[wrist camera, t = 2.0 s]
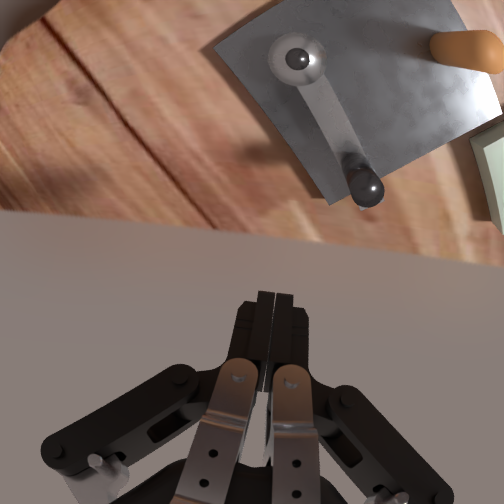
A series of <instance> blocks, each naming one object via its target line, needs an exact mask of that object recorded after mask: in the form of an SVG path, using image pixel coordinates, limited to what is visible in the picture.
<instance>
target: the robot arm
mask: <svg viewBox="0 0 504 504" xmlns="http://www.w3.org/2000/svg"><path fill="white" fill-rule="evenodd" d="M274 299H275V293H274V292H266V291H258V298H257V302H250V301H244V303H243V304H242V305H241V306H240V307H239V308H238V312H237V316H236V321H235V325H234V329H233V334H232V338H231V343H230V347H229V351H228V356H227V358H226V360H225V362H224V363H223V364H222V365H221V366H219V367H217V368H215V369H212V370H206V371H197V372H196V371H195V369H193V368H192V367H190V366H188V365H185V364H176V365H172V366H170V367H169V368H167V369H165V370H163V371H162V372H160V373H159V374H157V375H155V376H154V377H152V378H150V379H149V380H147V381H145V382H144V383H142V384H141V385H139V386H137V387H135V388H134V389H132V390H130V391H129V392H127V393H125V394H124V395H122V396H120V397H119V398H117V399H115V400H113V401H112V402H110V403H108V404H107V405H105V406H103V407H101V408H99V409H98V410H96V411H94V412H92V413H91V414H89V415H87V416H85V417H83V418H82V419H80V420H78V421H76V422H74V423H73V424H71V425H69V426H67V427H65V428H63V429H61V430H59V431H58V432H56V433H54V434H52V435H50V436H48V437H47V438H46V439H45V440H44V441H43V443H42V445H41V456H42V459H43V461H44V462H45V463H46V464H47V465H48V466H49V467H51V468H52V469H54V470H56V471H57V472H58V473H59V474H61V475H62V476H63V478H64V480H65V481H66V483H67V485H68V487H69V488H70V490H71V491H72V493H73V495H74V496H75V498H76V499H77V501H78V503H79V504H348V503H347V502H346V501H345V500H344V498H343V497H342V496H341V495H340V493H339V492H338V491H337V490H336V488H335V487H334V486H333V485H332V484H331V483H330V482H329V481H328V480H327V479H325V478H324V477H322V476H320V464H319V463H320V462H319V442H320V443H321V445H322V446H324V448H325V449H326V451H327V452H328V453H329V454H330V455H331V457H332V458H333V459H334V460H335V461H336V463H337V464H338V465H339V466H340V467H341V468H342V470H343V471H344V472H345V473H346V474H347V476H349V478H350V479H351V480H352V481H353V482H354V483H355V485H356V486H357V487H358V488H359V489H360V490H361V492H362V493H363V494H364V495H365V496H366V497H367V499H366V501H365V503H364V504H453V502H454V493H453V490H452V488H451V487H450V486H449V485H448V484H447V483H446V482H445V481H444V480H443V479H442V478H441V477H440V476H439V475H438V474H437V473H436V471H435V470H434V469H432V467H431V466H430V465H429V464H428V463H427V462H426V461H425V460H424V459H423V458H422V457H421V456H420V455H419V454H418V453H417V452H416V451H415V450H414V448H413V447H412V446H411V445H410V444H409V443H408V442H407V441H406V440H405V439H404V438H403V437H402V436H401V434H400V433H399V432H398V431H397V430H396V429H395V428H394V427H393V426H392V425H391V424H390V423H389V422H388V421H387V420H386V418H385V417H384V416H383V415H382V414H381V413H380V412H379V411H378V410H377V409H376V408H375V407H374V406H373V405H372V403H371V402H370V401H369V400H368V399H367V398H366V397H365V396H364V395H363V394H362V393H361V392H360V391H359V390H358V389H357V388H355V387H353V386H349V385H341V386H338V387H336V388H335V389H334V388H331V387H329V386H326V385H323V384H321V383H319V382H317V381H316V380H315V379H314V378H313V377H312V376H311V374H310V372H309V369H308V350H309V348H308V347H309V345H308V344H309V338H308V336H309V329H308V328H309V317H308V315H307V313H306V312H305V309H304V308H297V307H293V295H291V294H282V293H277V294H276V301H275V307H274ZM273 308H274V313H273ZM272 317H273V320H272ZM271 326H272V327H271ZM269 343H270V344H269ZM267 360H268V361H267ZM266 366H267V369H266ZM265 371H266V377H265V386H264V392H268V393H269V395H268V403H267V407H266V424H265V426H266V427H265V448H264V455H263V467H257V468H256V467H255V468H254V467H249V466H247V465H244V464H241V463H240V460H241V455H242V451H243V447H244V442H245V438H246V434H247V430H248V426H249V422H250V418H251V414H252V410H253V407H254V406H255V403H256V397H257V391H260V392H262V388H263V382H264V376H265ZM199 420H200V422H199V425H198V428H197V431H196V434H195V437H194V440H193V443H192V445H191V448H190V451H189V454H188V457H187V458H185V459H181V460H178V461H175V462H173V463H171V464H169V465H167V466H166V467H164V468H163V469H161V470H160V471H159V472H157V473H156V474H154V475H153V476H151V477H150V478H149V479H147V480H145V481H144V482H142V483H141V484H139V485H138V486H136V487H135V488H133V489H132V490H130V491H129V492H127V493H125V494H124V495H122V496H121V497H119V498H117V495H118V492H119V491H120V489H121V488H123V487H124V486H125V485H126V484H127V482H128V480H129V470H128V468H127V467H129V466H130V465H132V464H134V463H135V462H137V461H139V460H140V459H142V458H144V457H145V456H147V455H148V454H150V453H152V452H153V451H155V450H156V449H158V448H159V447H161V446H163V445H164V444H166V443H167V442H169V441H170V440H172V439H173V438H175V437H176V436H178V435H179V434H181V433H182V432H183V431H185V430H187V429H188V428H189V427H191V426H192V425H194V424H195V423H196V422H198V421H199Z"/></svg>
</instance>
